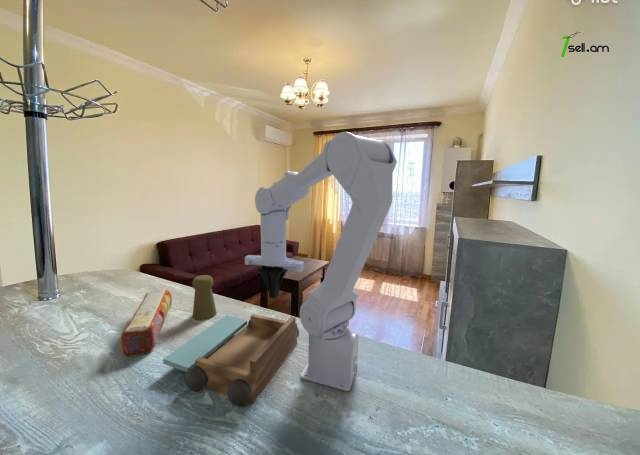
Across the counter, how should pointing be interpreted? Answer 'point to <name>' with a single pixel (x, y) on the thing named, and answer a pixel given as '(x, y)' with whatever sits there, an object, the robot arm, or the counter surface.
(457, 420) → the counter surface
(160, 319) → the snack package
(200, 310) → the olive tapered cylinder
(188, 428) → the counter surface
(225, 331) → the tailgate
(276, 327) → the cart
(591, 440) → the counter surface
